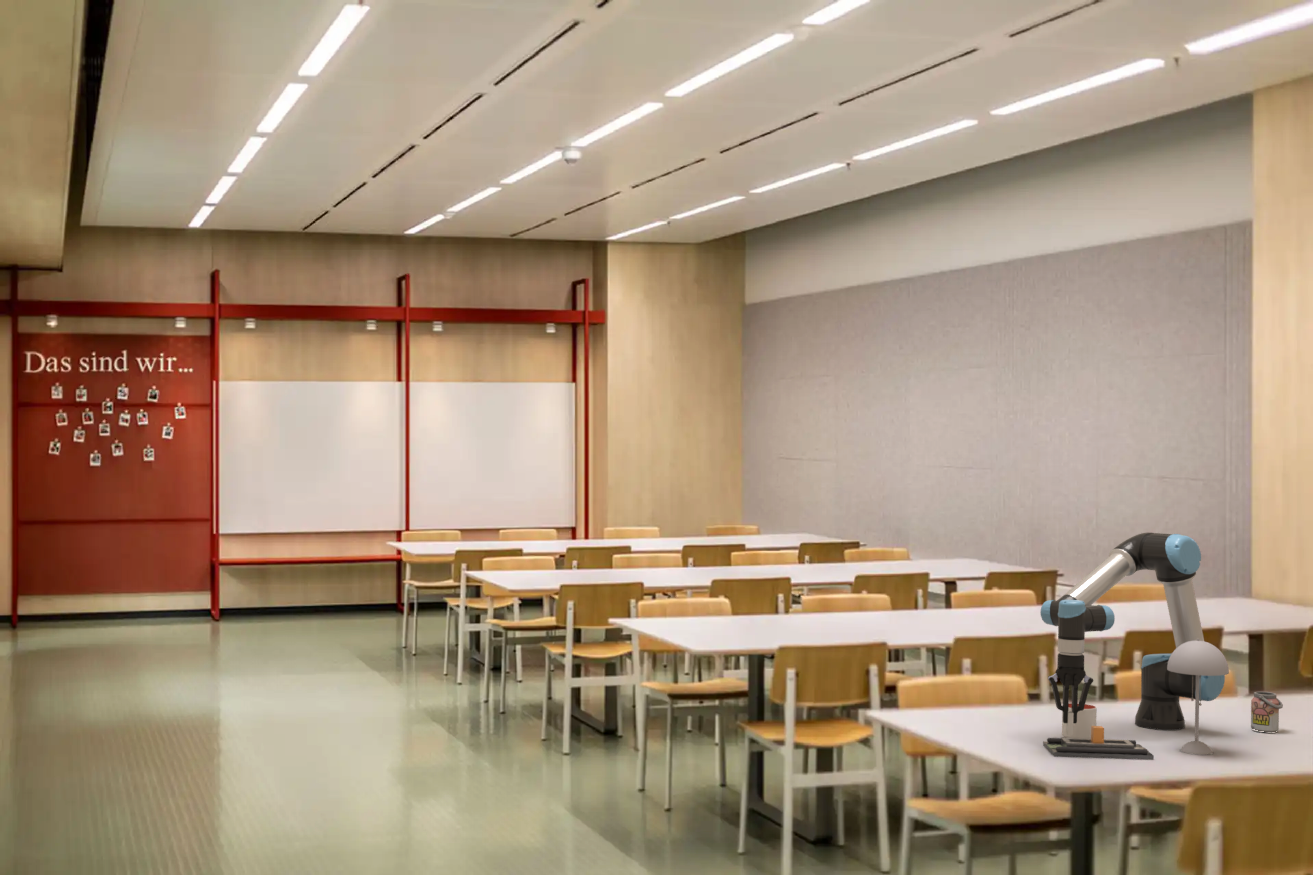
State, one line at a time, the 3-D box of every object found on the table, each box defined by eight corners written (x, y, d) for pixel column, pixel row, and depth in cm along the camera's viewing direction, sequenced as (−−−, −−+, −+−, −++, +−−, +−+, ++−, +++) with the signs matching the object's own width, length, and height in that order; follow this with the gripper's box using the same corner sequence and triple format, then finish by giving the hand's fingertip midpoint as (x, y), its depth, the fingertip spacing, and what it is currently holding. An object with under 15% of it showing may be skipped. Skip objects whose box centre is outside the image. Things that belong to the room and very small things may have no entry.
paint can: (1286, 731, 473) (1286, 693, 473) (1276, 735, 466) (1276, 696, 466) (1256, 727, 479) (1257, 690, 479) (1246, 731, 473) (1247, 693, 473)
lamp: (1220, 760, 427) (1222, 644, 427) (1159, 752, 436) (1161, 639, 436) (1232, 750, 442) (1234, 638, 442) (1173, 743, 451) (1175, 633, 451)
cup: (1078, 743, 448) (1078, 710, 448) (1054, 737, 457) (1055, 704, 457) (1103, 740, 453) (1103, 707, 453) (1079, 734, 462) (1080, 702, 462)
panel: (1139, 748, 442) (1139, 737, 442) (1153, 759, 426) (1153, 748, 426) (1043, 745, 444) (1043, 734, 444) (1053, 756, 428) (1054, 745, 428)
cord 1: (1134, 744, 441) (1134, 740, 441) (1136, 745, 440) (1136, 740, 440) (1046, 742, 443) (1046, 737, 443) (1047, 743, 442) (1047, 738, 442)
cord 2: (1146, 753, 428) (1146, 748, 428) (1147, 754, 427) (1147, 749, 427) (1055, 751, 430) (1055, 746, 430) (1056, 752, 429) (1056, 747, 429)
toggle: (1102, 747, 436) (1103, 726, 436) (1105, 749, 433) (1106, 728, 433) (1089, 746, 437) (1089, 725, 437) (1091, 749, 433) (1091, 727, 433)
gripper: (1090, 652, 439) (1089, 732, 439) (1045, 651, 440) (1044, 731, 440) (1096, 655, 431) (1095, 737, 431) (1050, 654, 432) (1049, 736, 432)
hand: (1069, 734), depth 435 cm, fingers closed
